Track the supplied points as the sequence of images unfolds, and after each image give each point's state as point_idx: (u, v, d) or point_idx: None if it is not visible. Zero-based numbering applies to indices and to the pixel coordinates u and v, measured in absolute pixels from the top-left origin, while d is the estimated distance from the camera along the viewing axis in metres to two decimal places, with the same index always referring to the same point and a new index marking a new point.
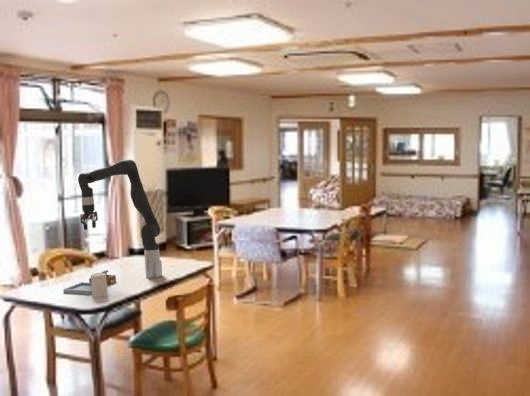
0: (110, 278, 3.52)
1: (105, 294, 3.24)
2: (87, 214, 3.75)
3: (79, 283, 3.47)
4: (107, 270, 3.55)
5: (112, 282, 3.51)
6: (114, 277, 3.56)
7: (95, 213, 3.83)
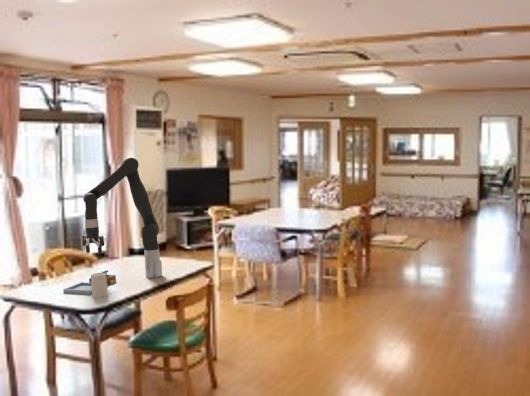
0: (110, 278, 3.52)
1: (105, 294, 3.24)
2: None
3: (79, 283, 3.47)
4: (107, 270, 3.55)
5: (112, 282, 3.51)
6: (114, 277, 3.56)
7: None
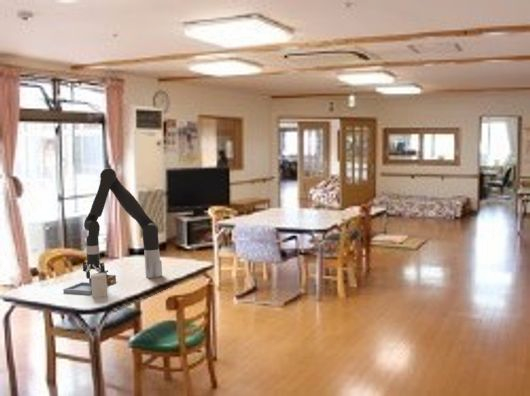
0: (110, 278, 3.52)
1: (105, 294, 3.24)
2: None
3: (79, 283, 3.47)
4: (107, 270, 3.55)
5: (112, 282, 3.51)
6: (114, 277, 3.56)
7: None
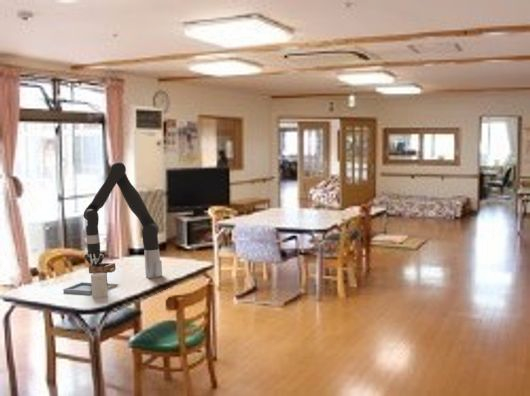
0: (110, 266, 3.52)
1: (105, 294, 3.24)
2: None
3: (79, 283, 3.47)
4: None
5: (112, 270, 3.50)
6: (114, 265, 3.55)
7: None
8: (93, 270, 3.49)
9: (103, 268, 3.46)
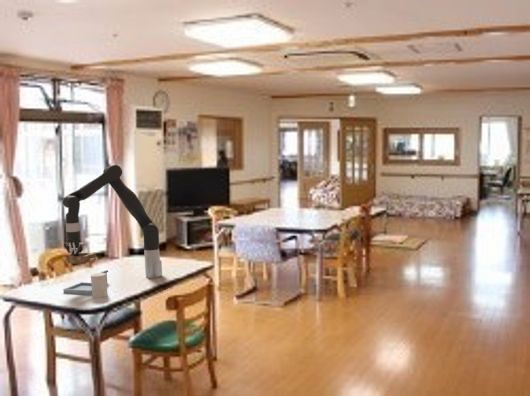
0: (89, 256, 3.37)
1: (105, 294, 3.24)
2: None
3: (79, 283, 3.47)
4: (107, 270, 3.55)
5: (91, 260, 3.35)
6: (94, 255, 3.40)
7: None
8: (72, 260, 3.34)
9: (82, 258, 3.32)
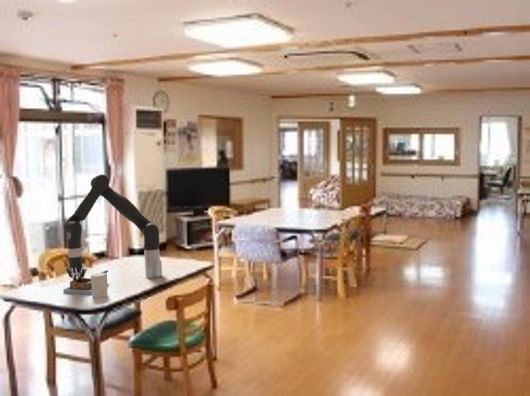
0: None
1: (105, 294, 3.24)
2: None
3: None
4: (107, 270, 3.55)
5: None
6: None
7: None
8: (74, 286, 3.35)
9: (85, 285, 3.33)
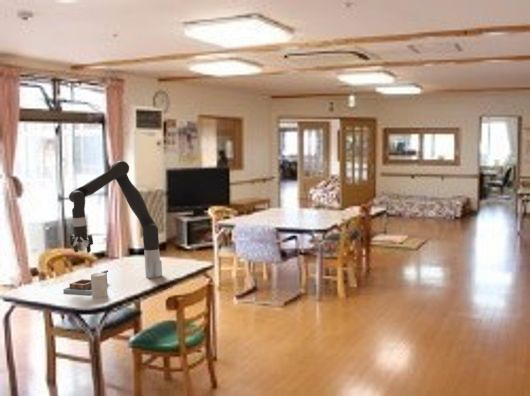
0: None
1: (105, 294, 3.24)
2: None
3: None
4: (107, 270, 3.55)
5: None
6: None
7: None
8: (74, 287, 3.36)
9: (84, 285, 3.33)
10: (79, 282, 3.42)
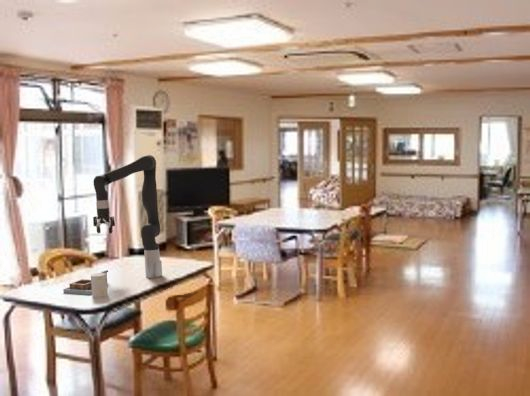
0: None
1: (105, 294, 3.24)
2: None
3: None
4: (107, 270, 3.55)
5: None
6: None
7: None
8: (74, 287, 3.36)
9: (84, 285, 3.33)
10: (79, 282, 3.42)
